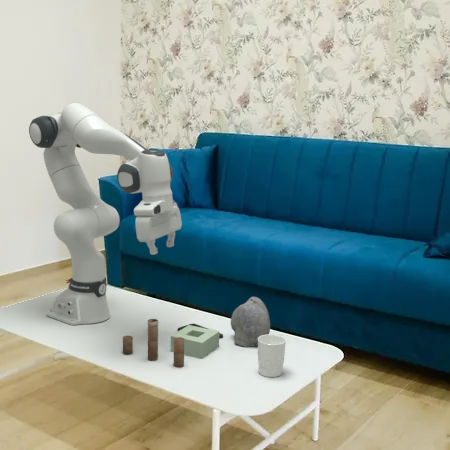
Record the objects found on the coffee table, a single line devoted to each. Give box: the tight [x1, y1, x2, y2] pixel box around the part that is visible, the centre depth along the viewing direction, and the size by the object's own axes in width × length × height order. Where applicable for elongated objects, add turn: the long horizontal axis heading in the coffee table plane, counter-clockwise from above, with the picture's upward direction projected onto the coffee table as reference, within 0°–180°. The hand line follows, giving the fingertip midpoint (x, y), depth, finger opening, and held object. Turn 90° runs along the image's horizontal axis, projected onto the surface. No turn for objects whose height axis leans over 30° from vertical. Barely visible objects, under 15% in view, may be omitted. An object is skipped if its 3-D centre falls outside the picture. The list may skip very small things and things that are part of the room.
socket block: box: [170, 324, 220, 359], centre depth 193 cm, size 11×11×5 cm
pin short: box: [122, 335, 134, 356], centre depth 189 cm, size 3×3×5 cm
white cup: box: [257, 333, 287, 378], centre depth 177 cm, size 8×8×10 cm
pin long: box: [147, 318, 159, 362], centre depth 184 cm, size 3×3×12 cm
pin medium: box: [173, 337, 185, 368], centre depth 181 cm, size 3×3×8 cm
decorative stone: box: [230, 296, 271, 348], centre depth 199 cm, size 15×10×15 cm
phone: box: [177, 323, 224, 340], centre depth 207 cm, size 8×1×15 cm
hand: (162, 250), depth 188 cm, fingers open, 8 cm apart
